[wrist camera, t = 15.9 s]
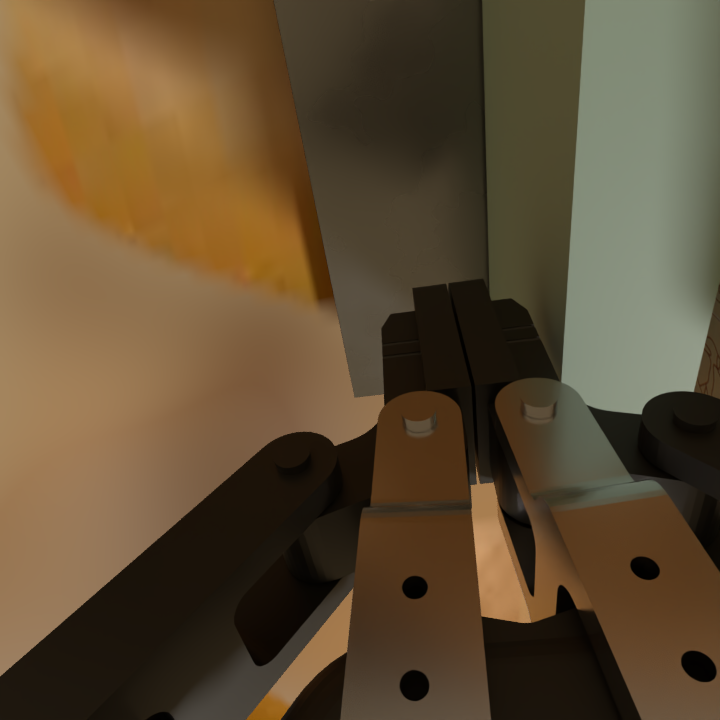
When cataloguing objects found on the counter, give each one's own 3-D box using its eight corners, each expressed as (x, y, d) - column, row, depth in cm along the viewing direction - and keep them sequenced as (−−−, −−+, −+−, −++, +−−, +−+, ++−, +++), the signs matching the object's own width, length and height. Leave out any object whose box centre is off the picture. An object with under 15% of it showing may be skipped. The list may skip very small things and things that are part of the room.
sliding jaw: (589, -60, 13) (802, -72, 7) (562, 356, 20) (656, 548, 14) (480, -40, 14) (587, -33, 7) (491, 365, 20) (550, 558, 14)
